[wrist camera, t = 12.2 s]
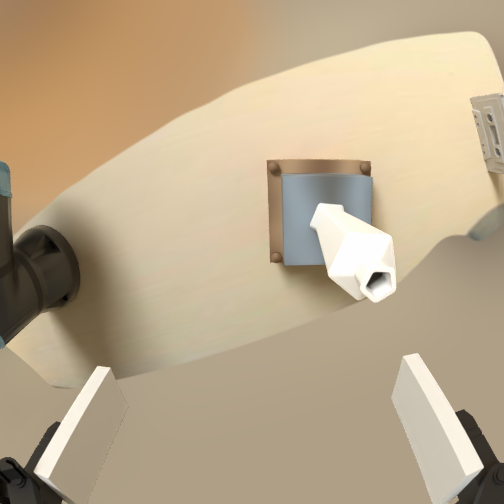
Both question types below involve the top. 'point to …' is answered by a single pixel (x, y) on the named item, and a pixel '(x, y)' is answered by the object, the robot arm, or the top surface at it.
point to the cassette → (490, 129)
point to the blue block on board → (312, 203)
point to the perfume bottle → (355, 253)
